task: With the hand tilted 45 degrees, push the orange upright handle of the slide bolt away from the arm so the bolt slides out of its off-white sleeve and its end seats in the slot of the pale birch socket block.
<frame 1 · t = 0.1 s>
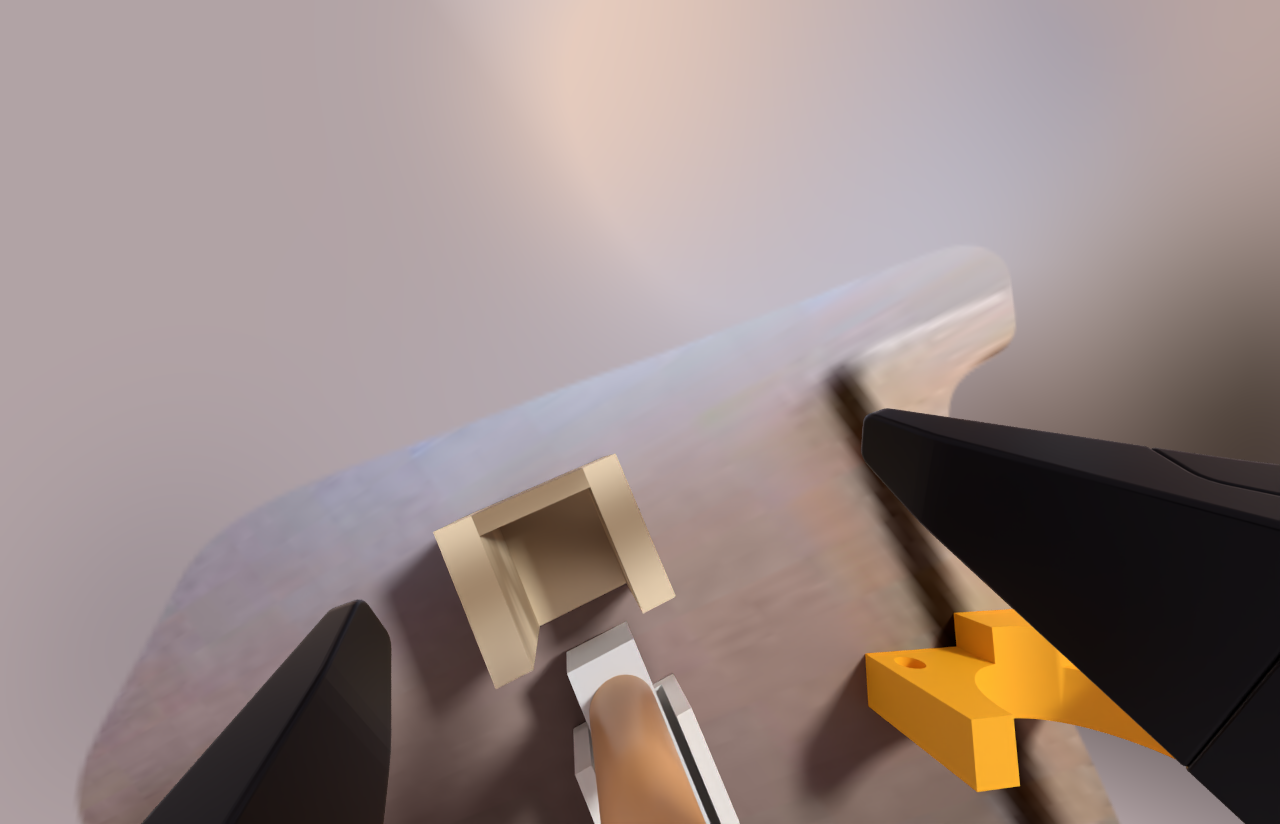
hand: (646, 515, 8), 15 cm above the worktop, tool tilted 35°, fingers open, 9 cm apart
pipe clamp: (958, 651, 25), on the worktop
socket: (559, 543, 22), on the worktop
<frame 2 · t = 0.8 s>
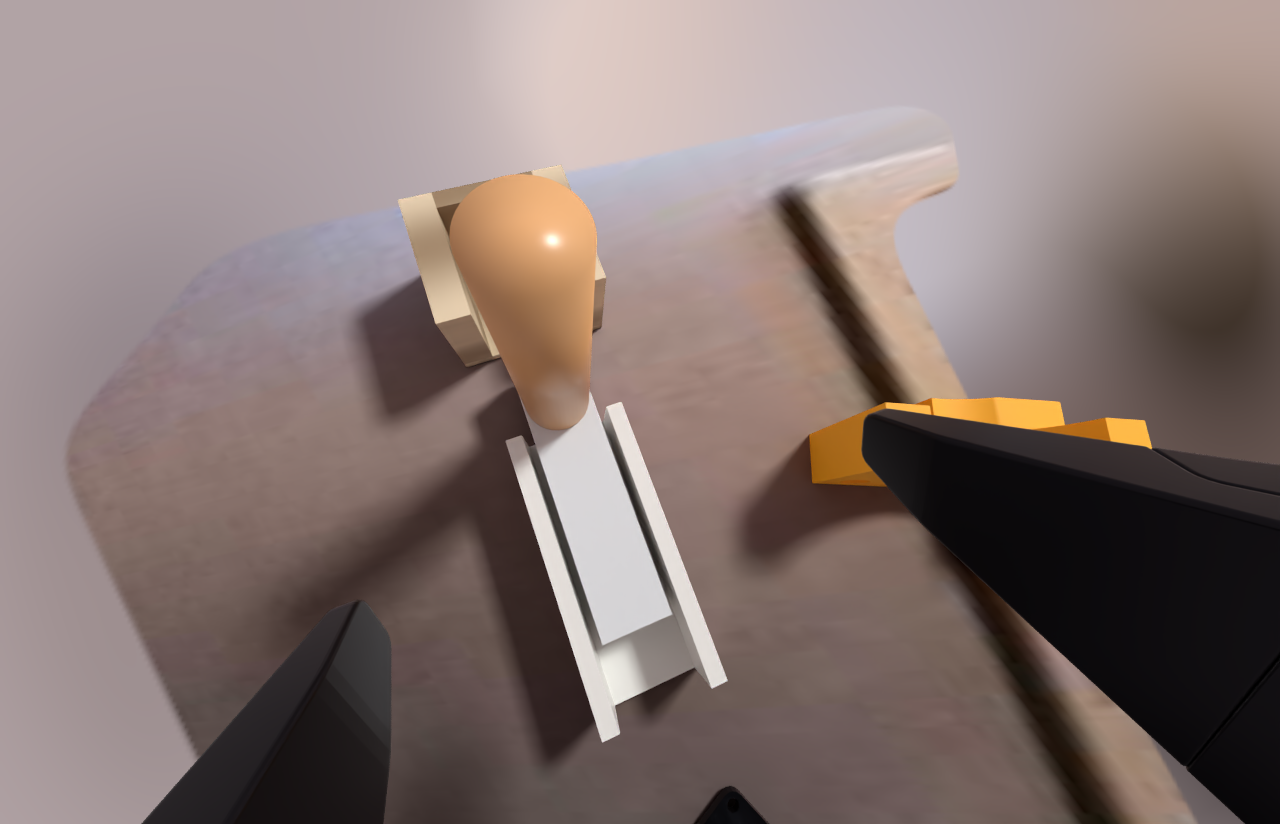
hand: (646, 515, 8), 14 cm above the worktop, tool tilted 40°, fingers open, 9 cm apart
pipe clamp: (909, 449, 25), on the worktop
slide bolt: (587, 467, 15), point 8 cm above the worktop, slide at 0.0 cm
sleeve: (654, 683, 20), on the worktop
socket: (518, 296, 24), on the worktop
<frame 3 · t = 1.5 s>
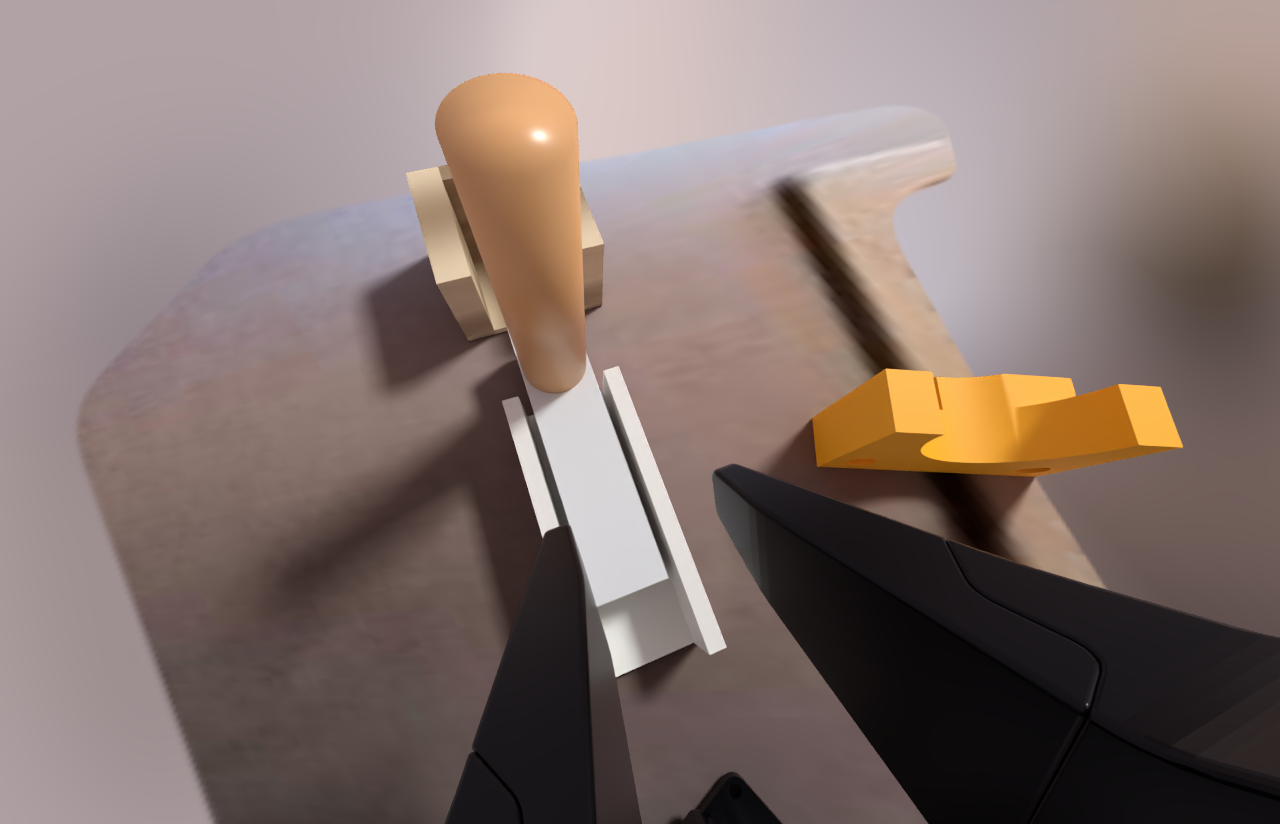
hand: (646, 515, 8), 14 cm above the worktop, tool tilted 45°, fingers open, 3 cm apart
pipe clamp: (917, 433, 24), on the worktop
slide bolt: (578, 406, 15), point 8 cm above the worktop, slide at 0.0 cm
sleeve: (651, 659, 19), on the worktop
socket: (521, 276, 25), on the worktop
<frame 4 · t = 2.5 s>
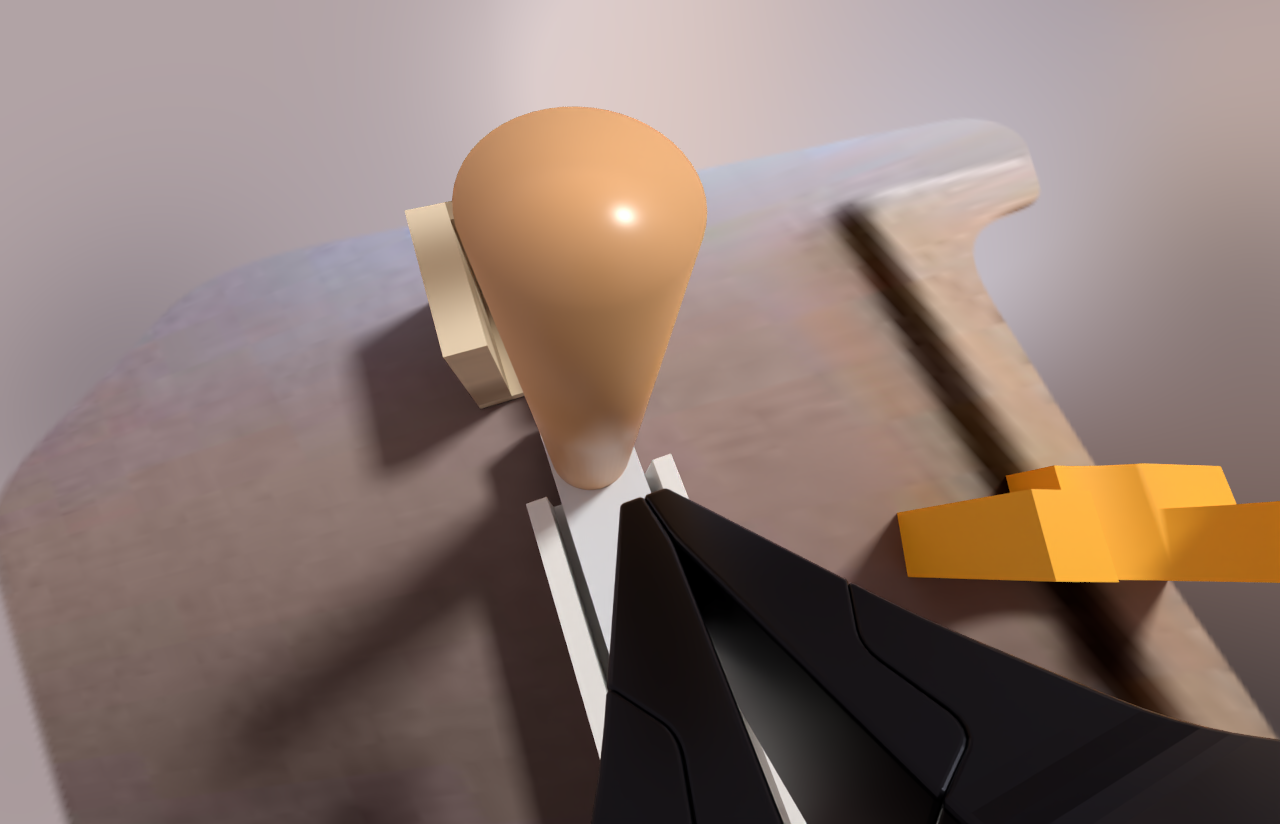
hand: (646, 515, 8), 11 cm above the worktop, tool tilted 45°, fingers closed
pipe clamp: (1020, 526, 20), on the worktop
slide bolt: (641, 554, 10), point 8 cm above the worktop, slide at 0.0 cm
socket: (543, 326, 21), on the worktop
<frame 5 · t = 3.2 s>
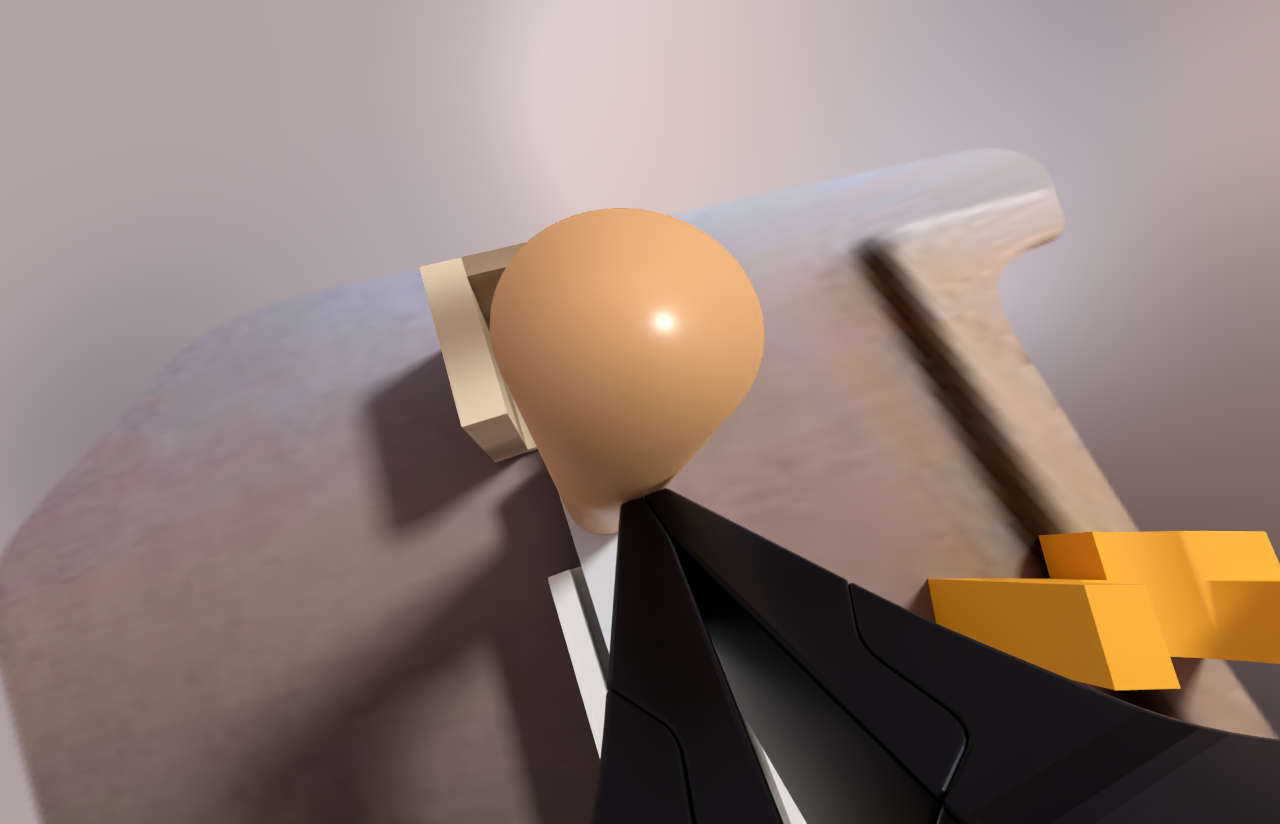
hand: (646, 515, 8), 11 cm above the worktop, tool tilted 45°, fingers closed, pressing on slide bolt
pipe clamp: (1054, 588, 19), on the worktop
slide bolt: (666, 623, 10), point 8 cm above the worktop, slide at 0.9 cm, touching gripper
socket: (559, 373, 20), on the worktop
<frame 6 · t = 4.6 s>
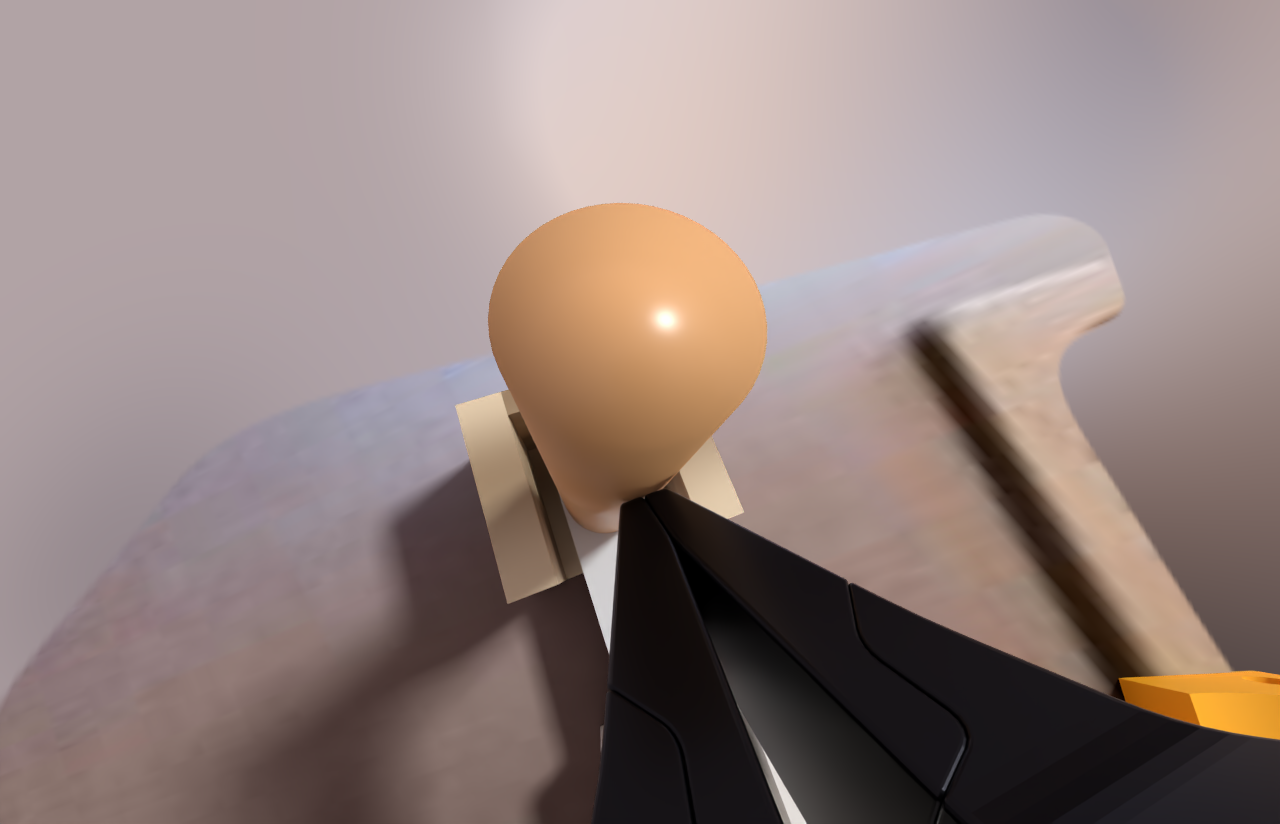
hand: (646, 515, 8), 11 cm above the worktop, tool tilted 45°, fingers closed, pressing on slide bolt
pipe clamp: (1138, 738, 18), on the worktop
slide bolt: (666, 622, 10), point 8 cm above the worktop, slide at 6.2 cm, touching gripper
socket: (597, 485, 18), on the worktop
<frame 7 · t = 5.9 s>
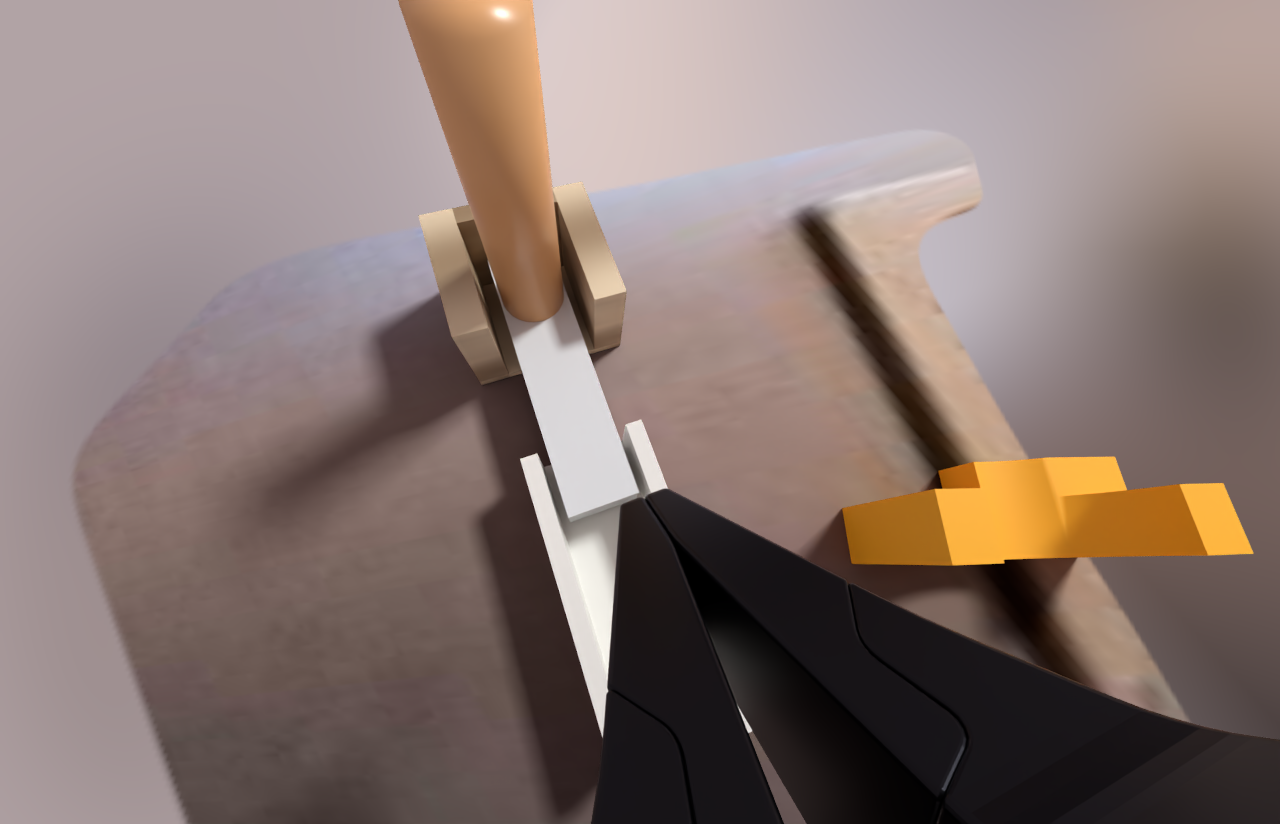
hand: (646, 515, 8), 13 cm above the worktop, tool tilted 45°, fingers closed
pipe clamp: (951, 514, 23), on the worktop
slide bolt: (547, 312, 15), point 8 cm above the worktop, slide at 6.2 cm
sleeve: (675, 728, 18), on the worktop
socket: (536, 314, 24), on the worktop
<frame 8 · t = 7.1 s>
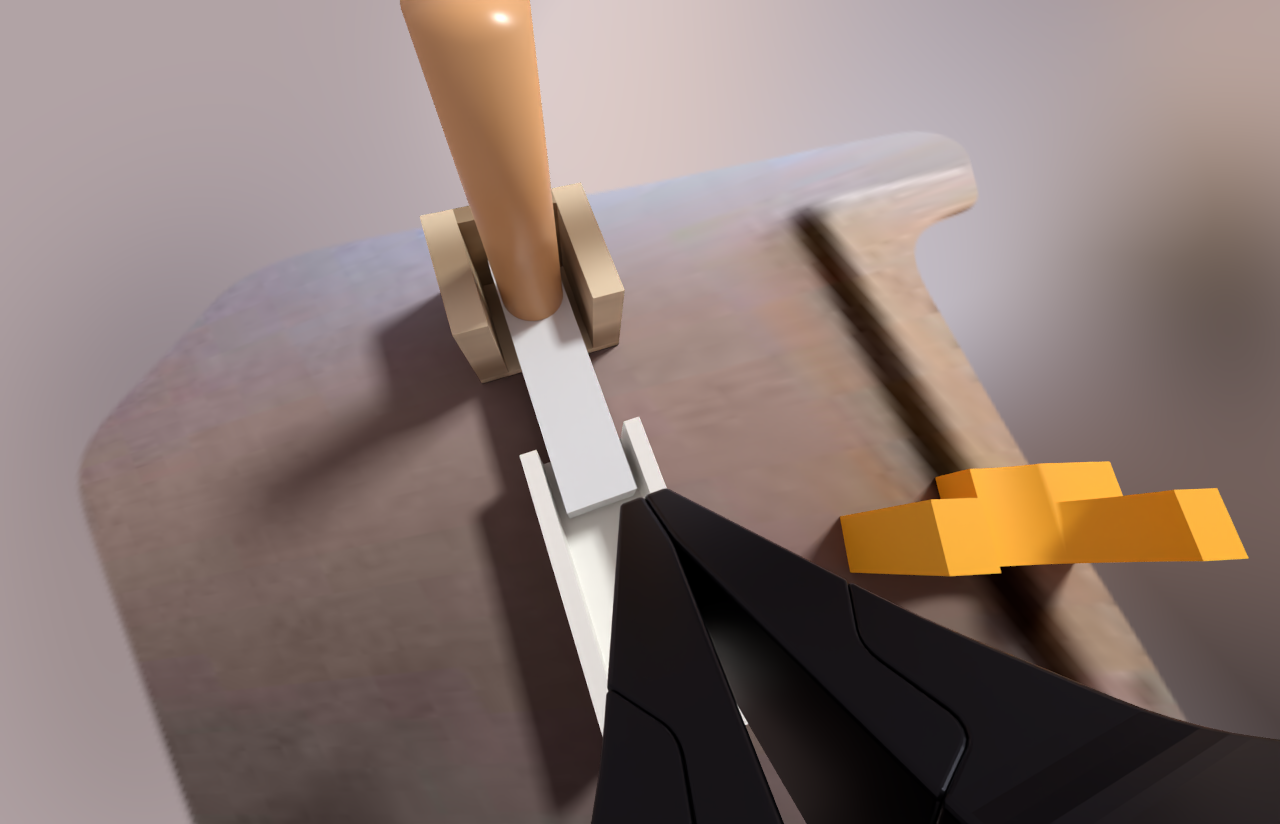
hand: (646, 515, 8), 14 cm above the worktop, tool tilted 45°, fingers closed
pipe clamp: (949, 520, 23), on the worktop
slide bolt: (546, 310, 16), point 8 cm above the worktop, slide at 6.2 cm
sleeve: (673, 722, 19), on the worktop
socket: (535, 314, 24), on the worktop
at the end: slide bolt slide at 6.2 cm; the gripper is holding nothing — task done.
